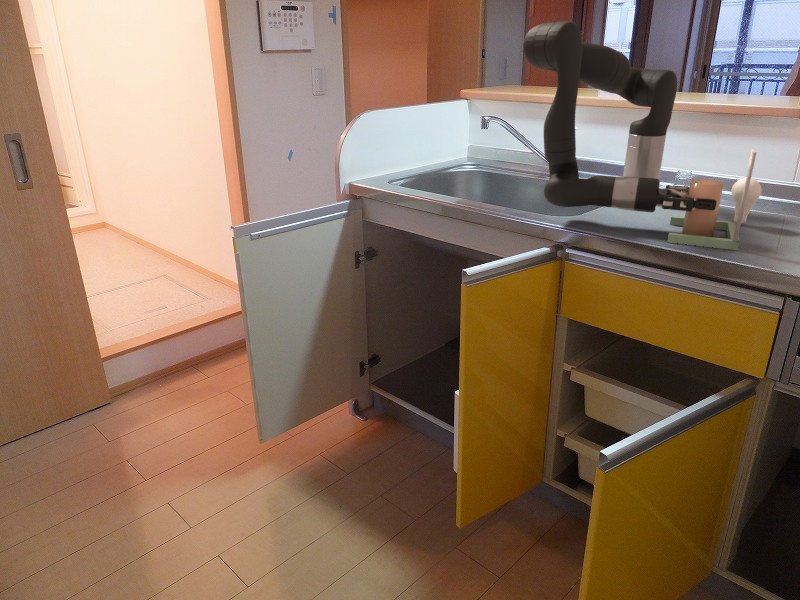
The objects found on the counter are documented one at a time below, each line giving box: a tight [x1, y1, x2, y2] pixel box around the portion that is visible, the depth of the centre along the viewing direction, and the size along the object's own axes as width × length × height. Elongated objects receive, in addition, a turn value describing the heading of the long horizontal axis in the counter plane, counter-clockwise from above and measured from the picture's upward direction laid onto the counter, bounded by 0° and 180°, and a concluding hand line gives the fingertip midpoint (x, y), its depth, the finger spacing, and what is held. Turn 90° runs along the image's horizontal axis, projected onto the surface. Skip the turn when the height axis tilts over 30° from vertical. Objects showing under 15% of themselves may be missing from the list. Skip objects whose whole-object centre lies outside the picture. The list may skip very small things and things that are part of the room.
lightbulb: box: [730, 177, 762, 225], centre depth 146 cm, size 6×6×11 cm
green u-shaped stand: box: [667, 148, 757, 251], centre depth 135 cm, size 17×14×20 cm
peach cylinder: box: [681, 178, 725, 237], centre depth 137 cm, size 6×6×12 cm
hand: (715, 201), depth 135 cm, fingers open, 7 cm apart
